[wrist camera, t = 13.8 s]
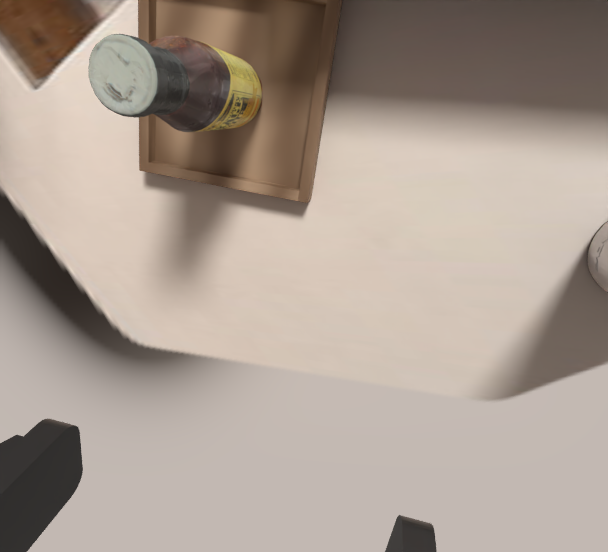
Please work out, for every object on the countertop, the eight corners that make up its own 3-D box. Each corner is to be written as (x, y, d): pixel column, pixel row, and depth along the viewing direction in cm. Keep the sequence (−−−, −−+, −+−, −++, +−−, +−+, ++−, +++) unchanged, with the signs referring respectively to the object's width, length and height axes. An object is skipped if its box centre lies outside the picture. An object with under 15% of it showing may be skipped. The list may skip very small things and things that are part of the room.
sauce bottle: (221, 137, 42) (97, 160, 24) (194, 73, 41) (37, 48, 23) (279, 111, 40) (191, 115, 22) (253, 43, 39) (134, -12, 21)
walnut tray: (343, -4, 37) (340, -10, 35) (311, 198, 44) (307, 203, 42) (150, -30, 39) (137, -37, 37) (150, 167, 46) (139, 170, 44)
